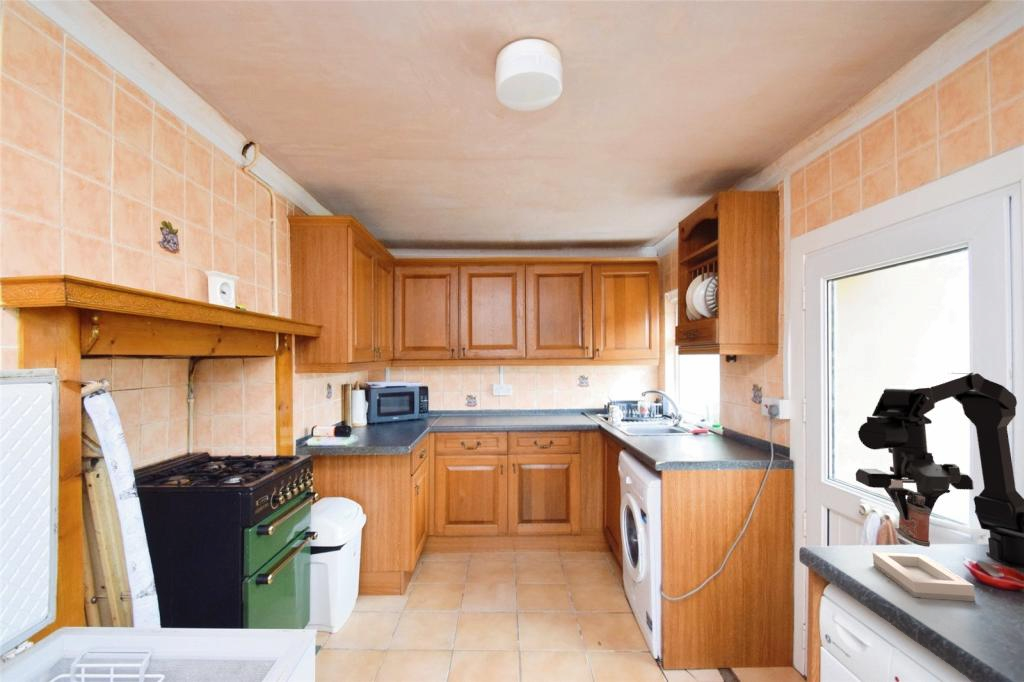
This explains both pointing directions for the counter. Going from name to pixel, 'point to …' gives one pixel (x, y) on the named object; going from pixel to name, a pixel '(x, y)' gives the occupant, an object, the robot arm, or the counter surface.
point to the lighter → (915, 520)
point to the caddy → (923, 576)
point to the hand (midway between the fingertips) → (914, 519)
